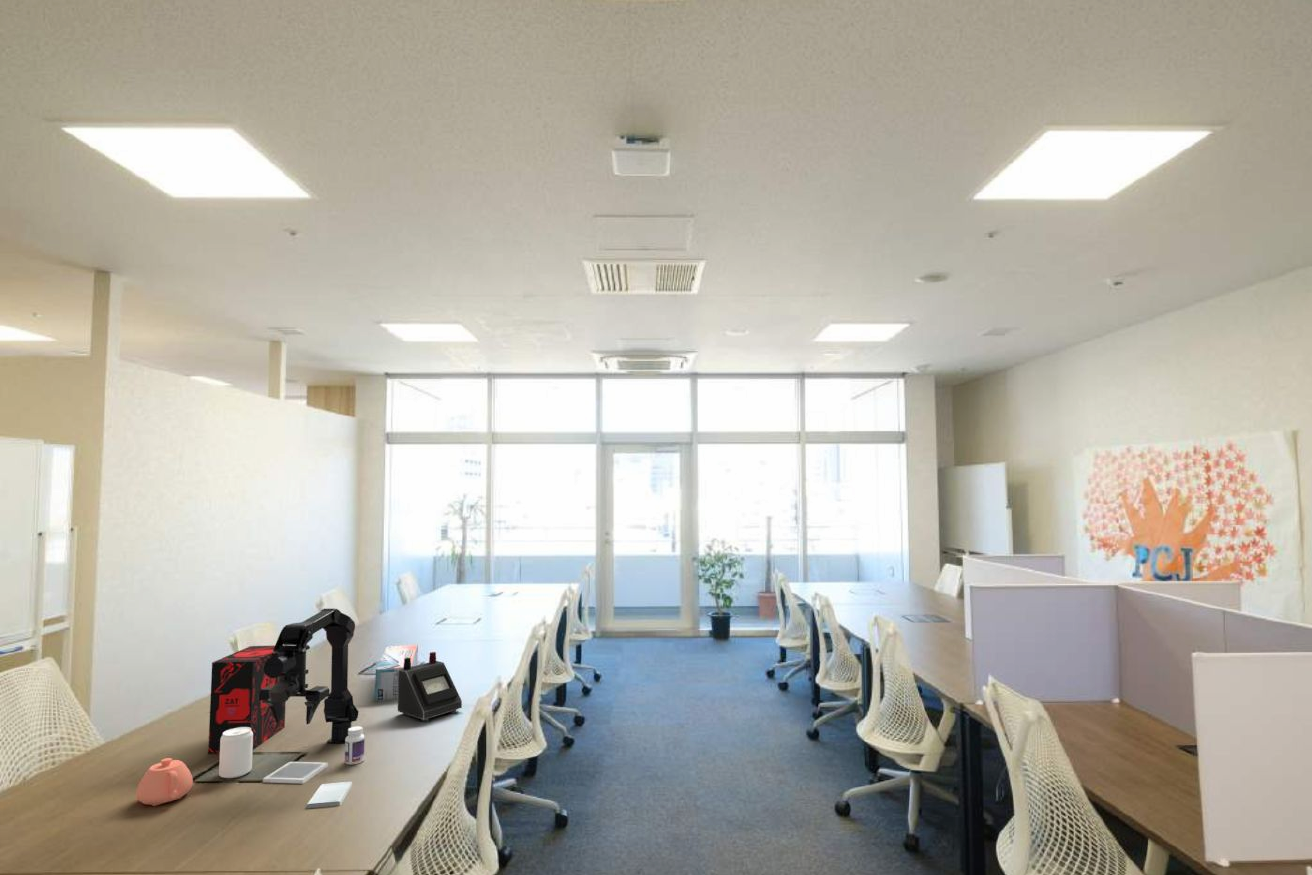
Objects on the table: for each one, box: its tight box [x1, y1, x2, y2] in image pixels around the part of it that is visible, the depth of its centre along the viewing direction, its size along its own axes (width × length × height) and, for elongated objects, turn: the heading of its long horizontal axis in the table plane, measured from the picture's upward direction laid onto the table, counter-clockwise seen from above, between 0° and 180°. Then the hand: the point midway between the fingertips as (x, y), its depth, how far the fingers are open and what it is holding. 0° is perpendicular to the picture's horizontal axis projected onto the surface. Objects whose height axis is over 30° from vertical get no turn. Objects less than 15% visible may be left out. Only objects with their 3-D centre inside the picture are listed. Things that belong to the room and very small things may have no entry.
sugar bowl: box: [135, 757, 194, 807], centre depth 181 cm, size 12×14×10 cm
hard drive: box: [305, 781, 353, 809], centre depth 181 cm, size 2×8×12 cm
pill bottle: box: [344, 726, 366, 766], centre depth 205 cm, size 5×5×10 cm
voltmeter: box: [397, 651, 463, 723], centre depth 250 cm, size 16×16×20 cm
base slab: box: [262, 761, 329, 785], centre depth 196 cm, size 12×12×1 cm
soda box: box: [374, 644, 419, 702], centre depth 286 cm, size 41×14×13 cm, turn 16°
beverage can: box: [218, 727, 253, 779], centre depth 197 cm, size 8×8×12 cm
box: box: [207, 645, 287, 755], centre depth 225 cm, size 23×12×28 cm, turn 4°
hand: (293, 723), depth 197 cm, fingers open, 9 cm apart
